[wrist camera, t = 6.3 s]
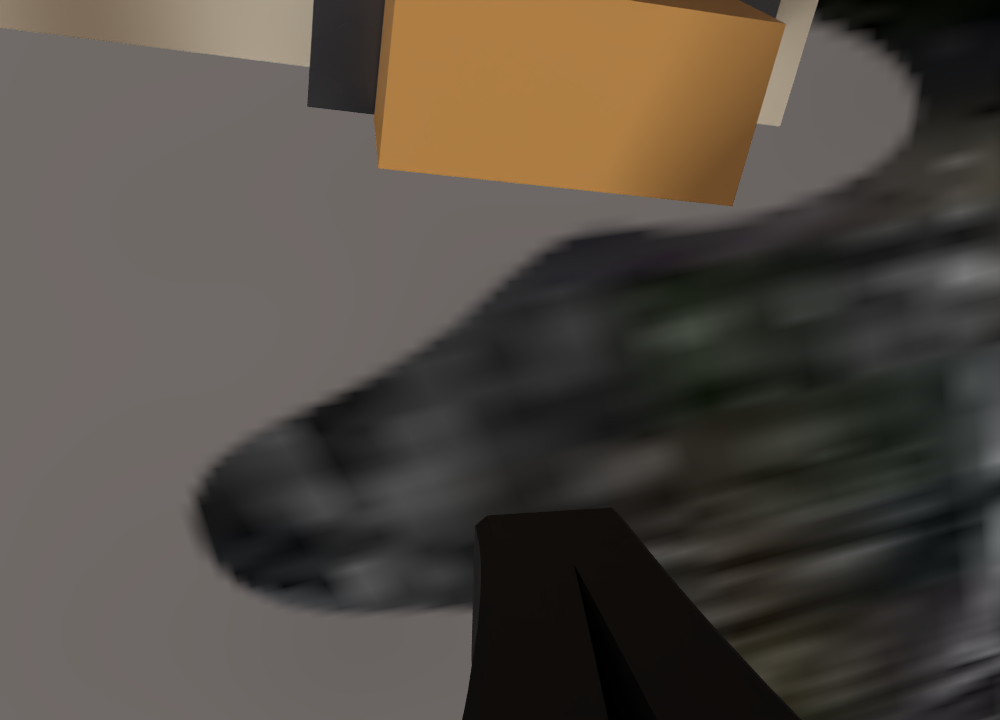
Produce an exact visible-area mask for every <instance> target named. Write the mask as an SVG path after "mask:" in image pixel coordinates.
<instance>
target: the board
mask: <svg viewBox="0 0 1000 720" xmlns="http://www.w3.org/2000/svg"><path fill="white" fill-rule="evenodd" d="M818 1H819V0H781V2H780V5H779V9H778V12H777V16H776V19H777V20H779V21H781V22H783V23H785V24H786V26H785V29H784V33H783V36H782V39H781V43H780V46H779V50H778V53H777V56H776V60H775V63H774V67H773V70H772V73H771V77H770V80H769V84H768V87H767V90H766V94H765V97H764V101H763V104H762V107H761V111H760V114H759V117H758V121H757V123H758V124H765V125H773V126H780V124H781V121H782V117H783V114H784V111H785V108H786V105H787V101H788V98H789V95H790V92H791V88H792V85H793V82H794V79H795V75H796V72H797V69H798V66H799V62H800V59H801V56H802V52H803V49H804V46H805V43H806V40H807V36H808V33H809V30H810V27H811V23H812V20H813V17H814V14H815V10H816V7H817V4H818ZM313 3H314V0H0V28H6V29H14V30H22V31H30V32H38V33H45V34H54V35H62V36H70V37H77V38H85V39H93V40H101V41H109V42H117V43H125V44H133V45H140V46H148V47H156V48H165V49H173V50H180V51H188V52H196V53H204V54H212V55H220V56H228V57H235V58H243V59H252V60H259V61H267V62H275V63H283V64H291V65H299V66H306V67H310V53H311V36H312V20H313Z"/></svg>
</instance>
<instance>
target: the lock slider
mask: <svg viewBox="0 0 1000 720" xmlns="http://www.w3.org/2000/svg"><path fill="white" fill-rule="evenodd" d="M785 26H786V24H785V23H783V22H781V21H779V20H777V19H775V18H773V17H771V16H770V15H768V14H766V13H764V12H762V11H760V10H758V9H756V8H754V7H752V6H750V5H748V4H746V3H744V2H742V1H740V0H385V8H384V18H383V29H382V40H381V50H380V61H379V71H378V82H377V93H376V103H375V114H374V124H375V136H376V147H377V158H378V168H380V169H390V170H400V171H408V172H418V173H427V174H436V175H446V176H455V177H465V178H474V179H483V180H492V181H502V182H511V183H520V184H530V185H539V186H548V187H558V188H568V189H577V190H586V191H595V192H605V193H614V194H623V195H633V196H642V197H651V198H661V199H670V200H679V201H689V202H699V203H708V204H718V205H727V206H733V202H734V199H735V195H736V192H737V189H738V185H739V182H740V178H741V175H742V172H743V168H744V165H745V161H746V158H747V155H748V151H749V148H750V144H751V141H752V138H753V134H754V131H755V128H756V124H757V121H758V117H759V114H760V111H761V107H762V104H763V101H764V97H765V94H766V90H767V87H768V84H769V80H770V77H771V73H772V70H773V67H774V63H775V60H776V56H777V53H778V50H779V46H780V43H781V39H782V36H783V33H784V29H785Z"/></svg>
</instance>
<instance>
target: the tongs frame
mask: <svg viewBox="0 0 1000 720" xmlns="http://www.w3.org/2000/svg"><path fill="white" fill-rule="evenodd" d="M740 1H742V2H744V3H746V4H748V5H750V6H752V7H754V8H756V9H758V10H760V11H762V12H764V13H766V14H768V15H770V16H771V17H773V18H775V19H776V16H777V12H778V9H779V5H780V2H781V0H740ZM384 8H385V0H314V3H313V20H312V36H311V53H310V71H309V87H308V88H309V89H308V104H307V105H308V107H316V108H324V109H332V110H341V111H349V112H358V113H366V114H375V103H376V93H377V82H378V71H379V61H380V50H381V40H382V29H383V18H384Z"/></svg>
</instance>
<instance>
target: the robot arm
mask: <svg viewBox="0 0 1000 720" xmlns="http://www.w3.org/2000/svg"><path fill="white" fill-rule="evenodd" d="M462 720H801V719H800V718H799V717H798V716H797V715H796V714H795V713H794V712H793V711H792V710H791V709H790V708H789V707H788V705H787V704H786V703H785V702H784V701H783V700H782V699H781V698H780V697H779V696H778V695H777V694H776V693H775V692H774V691H773V690H772V689H771V688H770V687H769V686H768V685H767V684H766V683H765V682H764V681H763V680H762V679H761V677H760V676H759V675H758V674H757V673H756V672H755V671H754V670H753V669H752V668H751V667H750V666H749V664H748V663H747V662H746V661H745V660H744V659H743V658H742V657H741V656H740V655H739V654H738V653H737V652H736V650H735V649H734V648H733V647H732V646H731V645H730V644H729V643H728V642H727V641H726V640H725V639H724V638H723V636H722V635H721V634H720V633H719V632H718V631H717V630H716V629H715V628H714V627H713V625H712V624H711V623H710V622H709V621H708V620H707V619H706V617H705V616H704V615H703V614H702V613H701V612H700V611H699V610H698V608H697V607H696V606H695V605H694V604H693V603H692V601H691V600H690V599H689V598H688V597H687V596H686V594H685V593H684V592H683V591H682V590H681V589H680V587H679V586H678V585H677V584H676V583H675V582H674V580H673V579H672V578H671V577H670V576H669V575H668V573H667V572H666V571H665V570H664V569H663V567H662V566H661V565H660V564H659V563H658V561H657V560H656V559H655V558H654V556H653V555H652V554H651V553H650V552H649V550H648V549H647V548H646V547H645V546H644V544H643V543H642V542H641V541H640V539H639V538H638V537H637V536H636V534H635V533H634V532H633V531H632V530H631V528H630V527H629V526H628V525H627V523H626V522H625V521H624V520H623V518H622V517H621V516H620V515H619V514H618V513H617V512H616V511H615V510H613V509H612V508H600V509H584V510H568V511H553V512H537V513H521V514H505V515H489V516H486V517H485V518H484V519H483V520H481V521H480V522H479V523H478V524H477V525H475V550H474V586H473V624H472V668H471V675H470V681H469V688H468V694H467V699H466V704H465V709H464V714H463V718H462Z"/></svg>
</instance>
